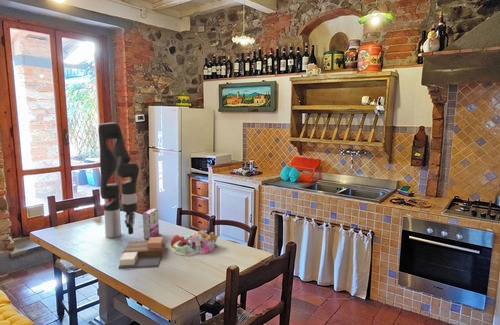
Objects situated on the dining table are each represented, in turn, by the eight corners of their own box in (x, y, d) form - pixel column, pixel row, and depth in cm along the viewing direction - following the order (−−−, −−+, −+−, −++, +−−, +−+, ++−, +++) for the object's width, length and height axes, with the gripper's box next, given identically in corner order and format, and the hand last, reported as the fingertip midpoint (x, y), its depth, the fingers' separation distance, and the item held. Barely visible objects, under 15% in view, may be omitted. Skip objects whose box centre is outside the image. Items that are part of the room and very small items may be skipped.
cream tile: (124, 258, 177) (123, 252, 176) (137, 257, 178) (137, 251, 177) (119, 265, 168) (119, 259, 167) (134, 264, 169) (134, 259, 168)
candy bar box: (152, 232, 217) (151, 208, 215) (159, 233, 216) (158, 208, 214) (143, 239, 207) (142, 213, 204) (150, 239, 206) (149, 213, 203)
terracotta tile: (150, 242, 190) (150, 237, 190) (162, 241, 191) (162, 236, 191) (147, 248, 181) (147, 243, 181) (160, 247, 182) (160, 242, 182)
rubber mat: (124, 259, 177) (123, 257, 177) (160, 257, 179) (160, 256, 179) (118, 268, 166) (118, 267, 166) (157, 266, 168) (157, 265, 168)
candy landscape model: (195, 237, 210) (195, 223, 209) (224, 245, 197) (224, 230, 195) (164, 250, 190) (163, 234, 189) (194, 260, 176) (193, 243, 175)
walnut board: (129, 248, 192) (129, 241, 191) (165, 246, 194) (165, 240, 194) (123, 259, 177) (122, 252, 176) (161, 257, 179) (161, 250, 179)
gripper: (125, 198, 179) (126, 229, 182) (118, 205, 166) (120, 238, 169) (139, 198, 180) (140, 229, 183) (134, 204, 167) (135, 238, 170)
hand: (130, 233), depth 176 cm, fingers closed
